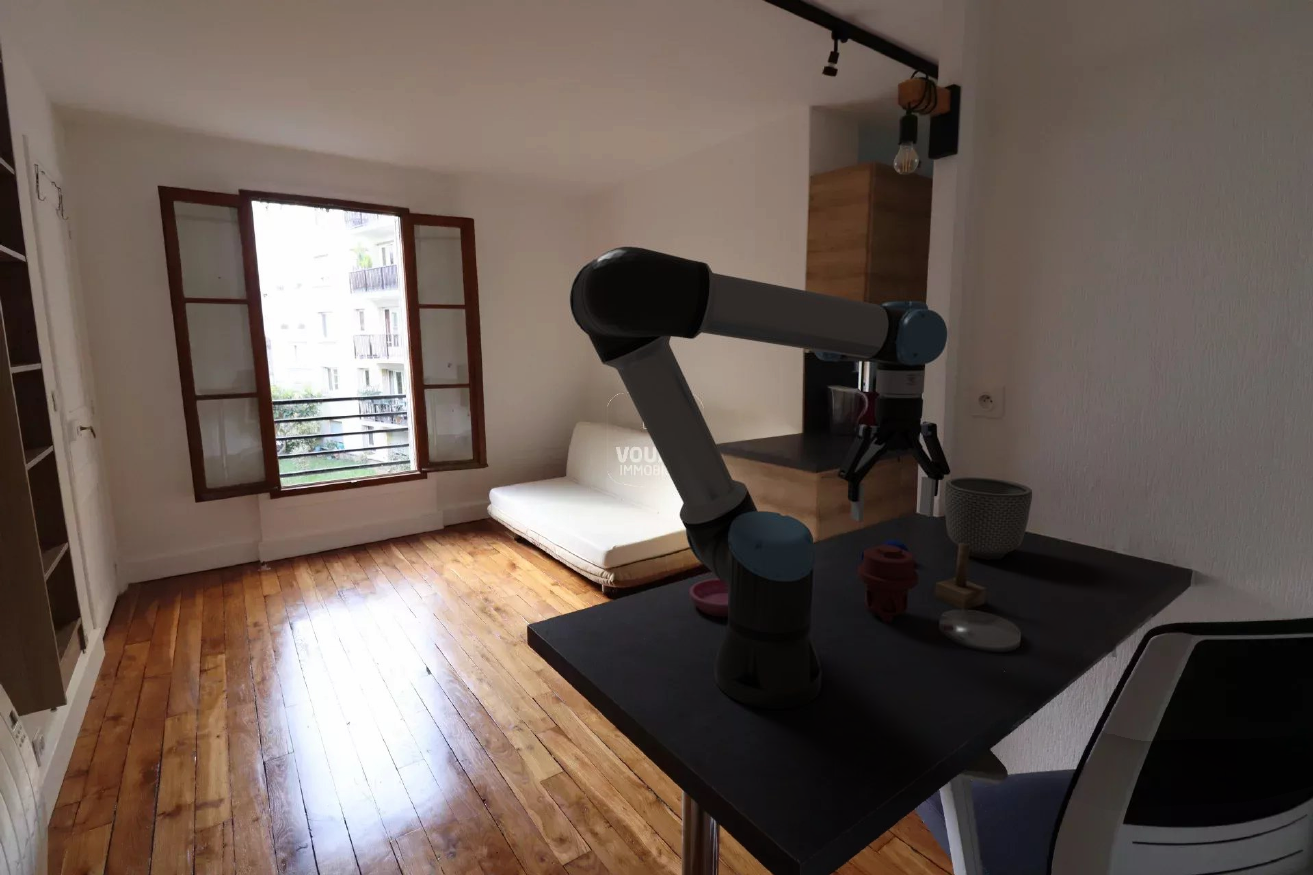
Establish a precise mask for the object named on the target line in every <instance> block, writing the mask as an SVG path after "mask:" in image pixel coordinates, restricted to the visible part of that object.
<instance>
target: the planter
mask: <svg viewBox="0 0 1313 875" xmlns="http://www.w3.org/2000/svg"><path fill="white" fill-rule="evenodd" d="M944 489H945V490H944V499H945V500H944V511H945V526H946V531H947V532H946V533H947V535H948V537H949V539H950V540H951V541H952V542H953V543H954V544H955V545H957V546H959V543H966V544H969V545H970V546H969V557H972V558H974V559H979V560H980V559H981V560H988V561H995V560H996V561H997V560H1001V559H1003V558H1004V556H1005V555H1006V554H1007V553H1008V554H1009V553H1011V552H1013V551H1014V550H1016V549H1018V548H1019V547H1020V545H1021V544H1022V541H1023V539H1024V536H1025V533H1026V530H1027V526H1028V522H1029V516H1030V511H1031V505H1032V499H1033V491H1032V488H1030V487H1029V486H1027V485H1024V484H1021V483H1018V482H1014V481H1009V480H1002V479H999V478H998V479H995V478H989V477H988V478H987V477H955V478H950V479H948V480H947V481H946V483H945V487H944Z"/></svg>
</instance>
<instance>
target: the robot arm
mask: <svg viewBox="0 0 1313 875" xmlns="http://www.w3.org/2000/svg"><path fill="white" fill-rule="evenodd" d="M570 288H571V289H570V294H569V305H570V311H571V314H572V317H573V319H574V321H575V323H576V325H577V326H578V327H580V330H582V331H583V332H584V333H585V334H586V335H587V336H588V337H589V340H590V342H591V344H592V347H594V350H595V352H596V354H597V355H598V357H599V359H600V362H601V364H602V365H605V366H607V367H611V368H613V369H615V370H616V371H617V373H618V375H619V376H620V379H621V380H622V383H623V385H624V386H625V388H626V391H627V392H628V395H629V397H630V399H631V401H632V402H633V404H634V407H635V409H636V411H637V412H638V414H639V416H640V419H641V421H642V423H643V424H644V427H645V429H646V432H648V434H649V437H650V438H651V440H652V443H653V445H654V447H655V449H656V451H657V452H658V453H657V454H659V457H660V458H661V461H662V463H663V465H664V467H665V469H666V471H667V473H668V474H669V477H670V479H671V480H672V481H671V482H672V483H673V485H674V487H675V489H676V492H677V493H678V494H679V497H680V498H681V499H680V500H681V501H682V505H681V508H680V510H679V519H680V520H681V522H682V525H683V526H684V528H685V534H686V539H687V543H688V545H689V546H688V547H689V548H690V550H691V552H692V553H693V555H694V556H695V557H696V559H697V561H699V563H701V564H702V565H703V566H705V567H706V568H708V569H709V570H710V571H711V572H712V573H713V575H715V576H716V577H717V579H720V580H721V581H722V582H723V583H724V584H725V585H726V586H727V587H728V617H727V625H726V629H725V632H724V634H723V636H722V637H723V638H722V639H721V641H720V645H719V648H718V650H717V653H716V654H715V655H716V656H715V659H714V679H715V683H716V685H717V686H718V688H719V689H720V690H721V691H722V692H723V693H725V694H726V695H727V696H729V697H730V698H732V699H734V700H736V701H738V702H740V703H742V704H744V705H748V706H752V707H755V708H762V709H768V710H770V709H771V710H784V709H792V708H797V707H800V706H803V705H804V706H805V705H806V704H808V703H810V702H811V701H813V700H814V699H816V697H817V696H818V695H819V693H820V691H821V688H822V668H821V664H820V661H819V656H818V654H817V651H816V646H815V644H814V640H813V637H812V634H811V628H812V626H811V624H812V602H813V584H814V582H813V581H814V566H815V564H816V563H815V562H816V555H815V547H814V544H815V543H814V537H813V533H812V532H811V530H810V529H809V527H808V526H807V525H806V524H804V523H803V522H802V521H800V520H798V519H797V518H795V517H792V516H790V515H787V514H786V515H783V514H781V513H779V512H775V511H769V510H768V511H764V510H762V511H761V510H760V511H759V510H758V509H757V506H756V504H755V502H754V500H753V498H752V496H751V494H750V492H749V489H748V487H747V486H746V484H745V483H744V482H742V481H738V480H735V479H733V478H732V476H731V474H730V471H729V469H728V466H727V465H726V463H725V461H724V459H723V457H722V454H721V453H720V450H719V448H718V445H717V444H716V441H715V439H714V437H713V435H712V433H711V430H710V428H709V427H708V425H707V422H706V420H705V418H704V416H703V413H702V411H701V410H700V408H699V405H698V402H697V401H696V399H695V397H694V394H693V392H692V390H691V387H690V386H689V384H688V382H687V379H686V377H685V375H684V373H683V371H682V369H681V367H680V365H679V362H678V360H677V357H676V356H675V354H674V351H673V349H672V347H671V344H670V341H671V338H673V337H674V338H683V339H690V340H693V339H695V338H697V337H698V336H699V335H701V334H708V335H715V336H721V337H727V338H732V339H733V338H734V339H740V340H746V341H752V342H759V343H761V342H762V343H766V344H773V345H779V346H785V347H786V346H787V347H791V348H797V349H798V348H799V349H803V350H809V351H810V350H812V351H813V352H814V355H815V356H816V357H817V358H818V359H819V360H821V361H825V362H828V361H829V362H834V363H835V362H836V363H838V362H863V363H865V362H866V363H876V364H877V365H876V366H877V367H876V369H877V370H876V382H875V392H876V393H877V394H878V395H877V396H876V397H875V400H874V417H875V423H874V425H866V424H864V423H863V424H862V423H859V424H858V425H857V427H856V428H857V429H856V434H855V438H854V441H853V443H852V444H851V446H850V447H849V448H850V449H849V450H848V452H847V454H846V457H845V458H844V460H843V462H842V463H841V464H842V465H841V466H840V469H839V470H838V473H837V477H838V478H839V479H842V480H843V481H846V482H847V500H848V501H850V502H851V503H850V518H851V519H852V520H854V521H856V522H858V523H862V522H864V508H865V489H866V488H865V487H866V484H865V483H863V482H862V481H863V480H864V479H865V477H866V476H867V474H868V473H869V472H870V471H871V469H872V468H873V467H874V466H875V465H876V463H877V462H879V460H880V458H881V457H882V456H883V455H885V454H886V453H888V451H891V452H895V451H898V450H902V451H908V452H909V453H910V454H911V455H912V457H913V458H914V460H915V461H916V463H917V464H918V465H919V467H920V468H921V470H922V471H923V472H924V473H925V475H926V476H921V484H920V498H919V501H920V502H919V513H920V514H922V515H925V516H927V517H934V510H935V509H934V507H935V497H937V496H938V494H939V484H940V481H943V480H944V478H945V476H948V475H950V473H951V468H950V466H949V464H948V460H947V458H946V456H945V453H944V450H943V447H942V445H941V442H940V440H939V437H938V425H937V423H936V422H935V423H934V422H930V421H923V422H922V423H921V422H920V420H921V419H922V418H923V411H924V410H923V409H924V408H923V407H924V399H923V398H922V396H920V395H923V393H924V392H925V378H926V376H925V375H926V365H927V364H930V363H932V362H934V361H935V360H937V359H938V358H939V357H940V356H941V354H942V353H943V351H944V350H945V348H946V344H947V340H948V328H947V325H946V321H945V320H944V318H943V317H942V315H940V314H939V313H938V312H936V311H934V310H931V309H929V306H928V305H927V303H925V302H923V301H915V300H914V301H913V300H912V301H910V300H909V301H906V300H905V301H887V302H884V303H882V304H876V303H872V302H866V301H861V300H857V299H856V300H855V299H851V298H846V297H840V296H834V295H829V294H824V293H819V292H814V291H808V290H804V289H798V288H795V287H793V288H792V287H789V286H782V285H778V284H772V283H767V282H764V281H763V282H761V281H757V280H752V279H746V278H741V277H735V276H731V275H726V274H720V273H715V272H713V271H712V269H711V267H710V265H709V264H708V263H706V262H704V261H698V260H692V259H690V258H688V259H687V258H683V257H680V256H676V255H672V254H669V253H664V252H660V251H655V250H651V249H648V248H643V247H637V246H636V247H635V246H621V247H620V246H619V247H615V248H612V249H610V250H607V251H605V252H604V253H603V254H601V255H600V256H599V257H597V258H594V259H593V260H591V261H589V262H588V263H586V264H585V265H584V266H583V267H582V268H581V269H580V270H579V271H578V273H577V274H576V277H575V278H574V280H573V282H572V285H571V287H570ZM920 434H921V436H922V439H923V442H924V445H925V447H926V450H927V452H928V454H927V452H926V451H925V450H924V448H923V447H924V446H923V445H922V443H921V442H920V441H919V439H918V438H919V436H920ZM873 437H875V438H874V440H872V441H871V438H873ZM870 441H871V443H870ZM868 446H869V448H868V449H867V447H868ZM866 450H867V451H866Z"/></svg>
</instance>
